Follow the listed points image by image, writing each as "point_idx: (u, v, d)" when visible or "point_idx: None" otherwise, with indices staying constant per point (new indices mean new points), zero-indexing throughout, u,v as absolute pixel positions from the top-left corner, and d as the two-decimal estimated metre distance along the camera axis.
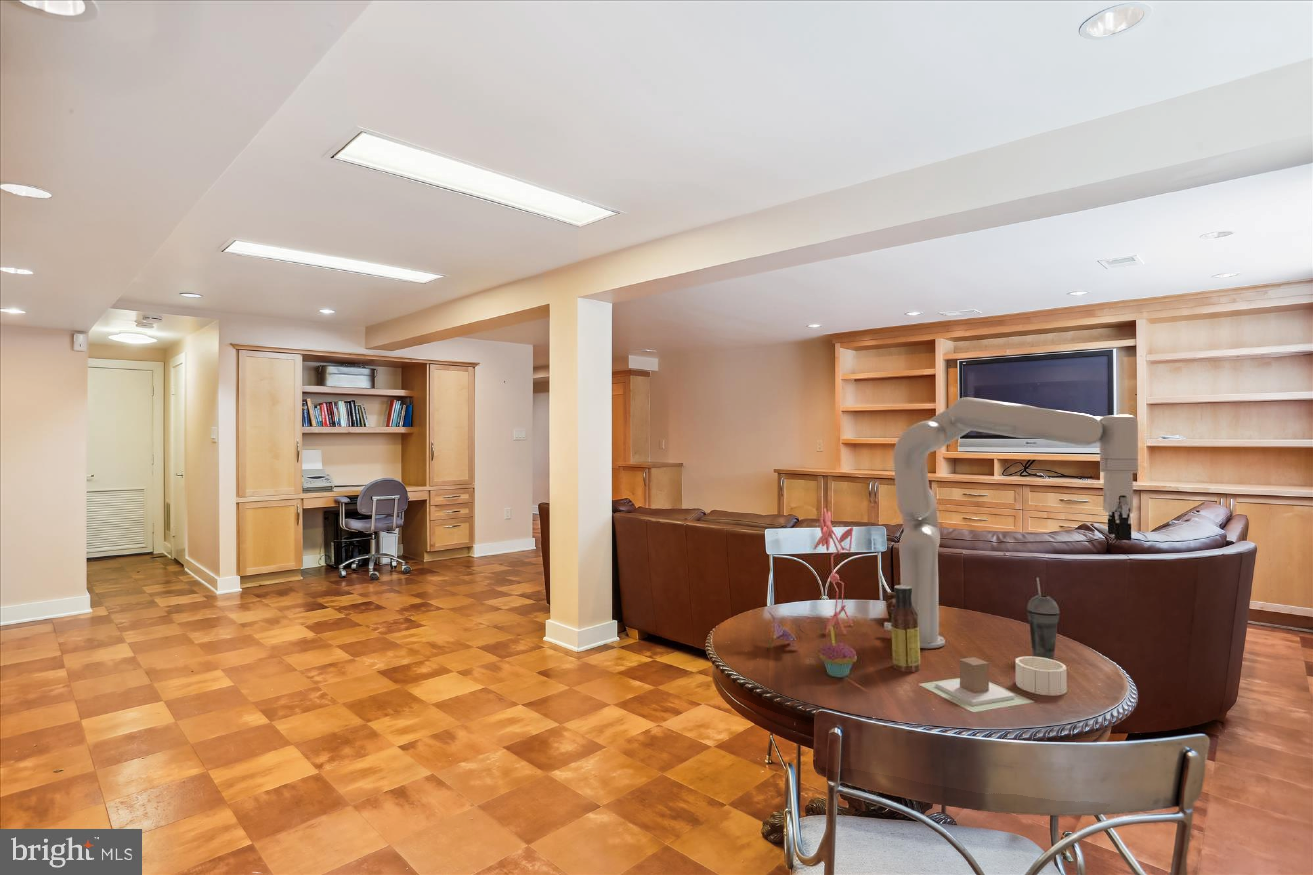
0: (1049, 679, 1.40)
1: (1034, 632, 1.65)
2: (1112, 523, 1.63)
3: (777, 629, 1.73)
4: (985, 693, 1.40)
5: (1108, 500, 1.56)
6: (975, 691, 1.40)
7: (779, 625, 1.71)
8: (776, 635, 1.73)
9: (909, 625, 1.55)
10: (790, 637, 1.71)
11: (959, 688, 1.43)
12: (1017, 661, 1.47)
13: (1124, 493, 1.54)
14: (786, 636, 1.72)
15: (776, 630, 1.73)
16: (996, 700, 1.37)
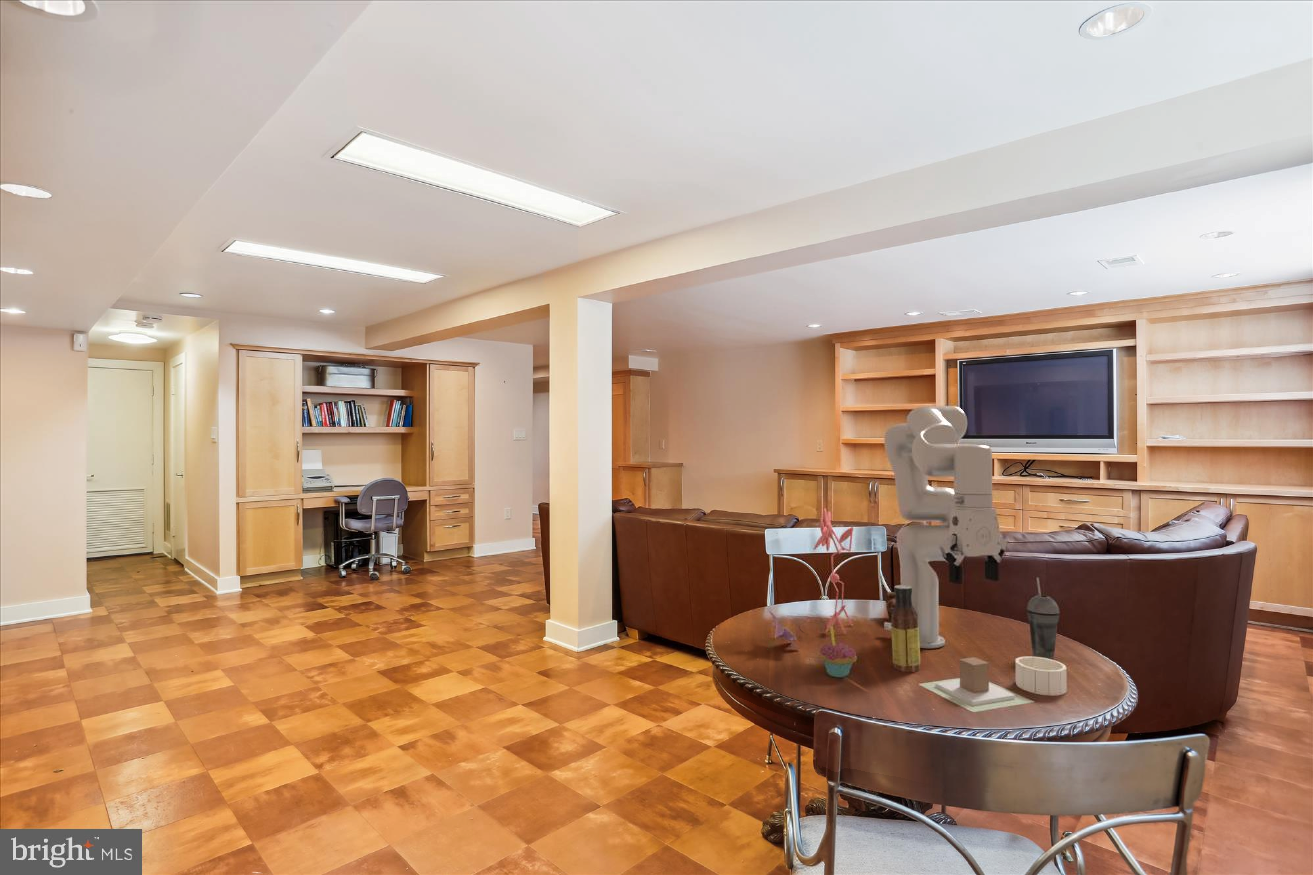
0: (1049, 679, 1.40)
1: (1034, 632, 1.65)
2: None
3: (778, 629, 1.73)
4: (985, 693, 1.40)
5: (998, 539, 1.41)
6: (975, 691, 1.40)
7: (780, 625, 1.71)
8: (777, 635, 1.73)
9: (909, 625, 1.55)
10: (791, 637, 1.71)
11: (959, 688, 1.43)
12: (1017, 661, 1.47)
13: None
14: (787, 636, 1.72)
15: (777, 630, 1.73)
16: (996, 700, 1.37)
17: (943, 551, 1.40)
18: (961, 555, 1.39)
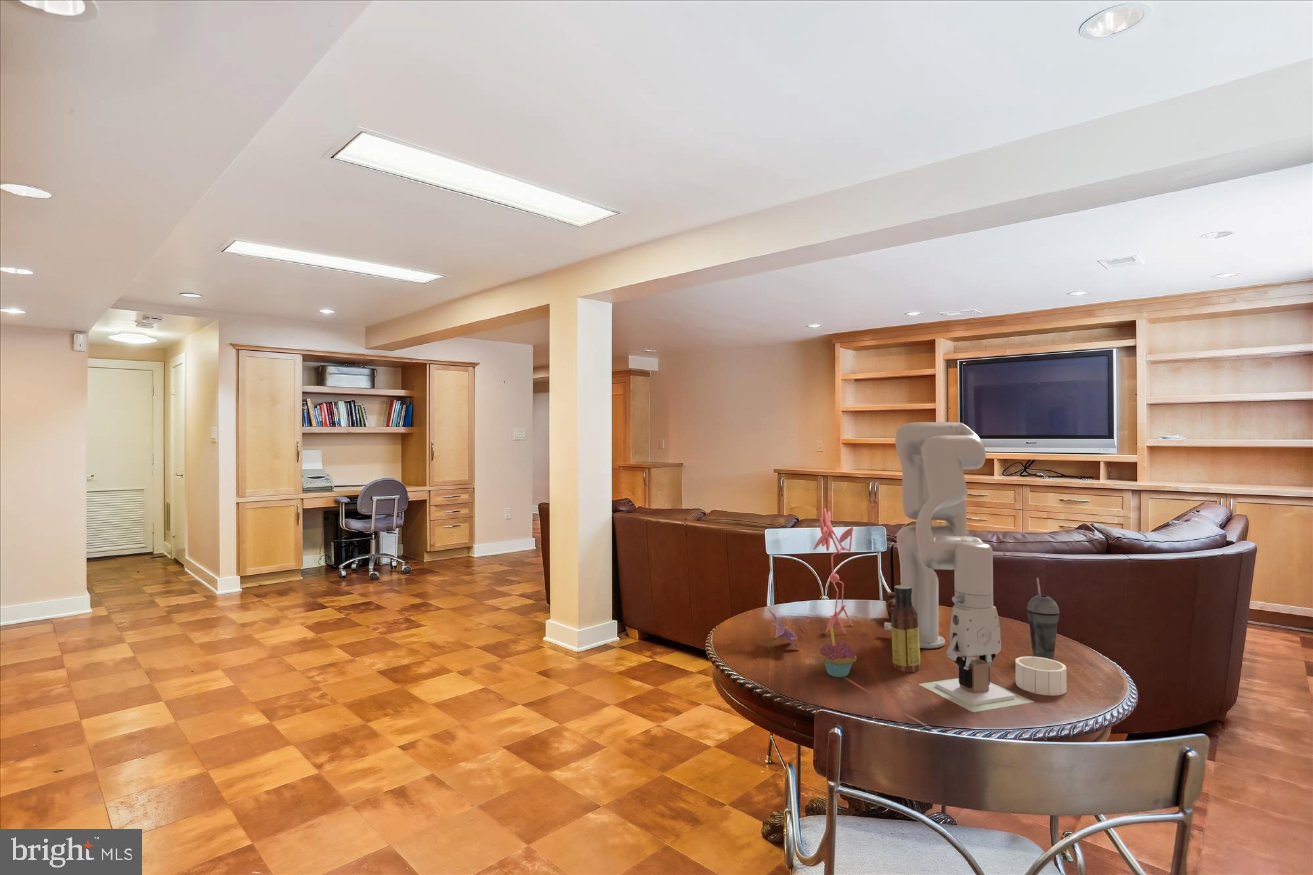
0: (1049, 679, 1.40)
1: (1034, 632, 1.65)
2: None
3: (779, 628, 1.73)
4: (985, 693, 1.40)
5: (998, 638, 1.41)
6: (975, 691, 1.40)
7: (780, 624, 1.72)
8: (777, 634, 1.73)
9: (909, 625, 1.55)
10: (791, 636, 1.71)
11: (959, 688, 1.43)
12: (1017, 661, 1.47)
13: None
14: (787, 635, 1.72)
15: (777, 629, 1.74)
16: (996, 700, 1.37)
17: (952, 658, 1.40)
18: (968, 658, 1.40)
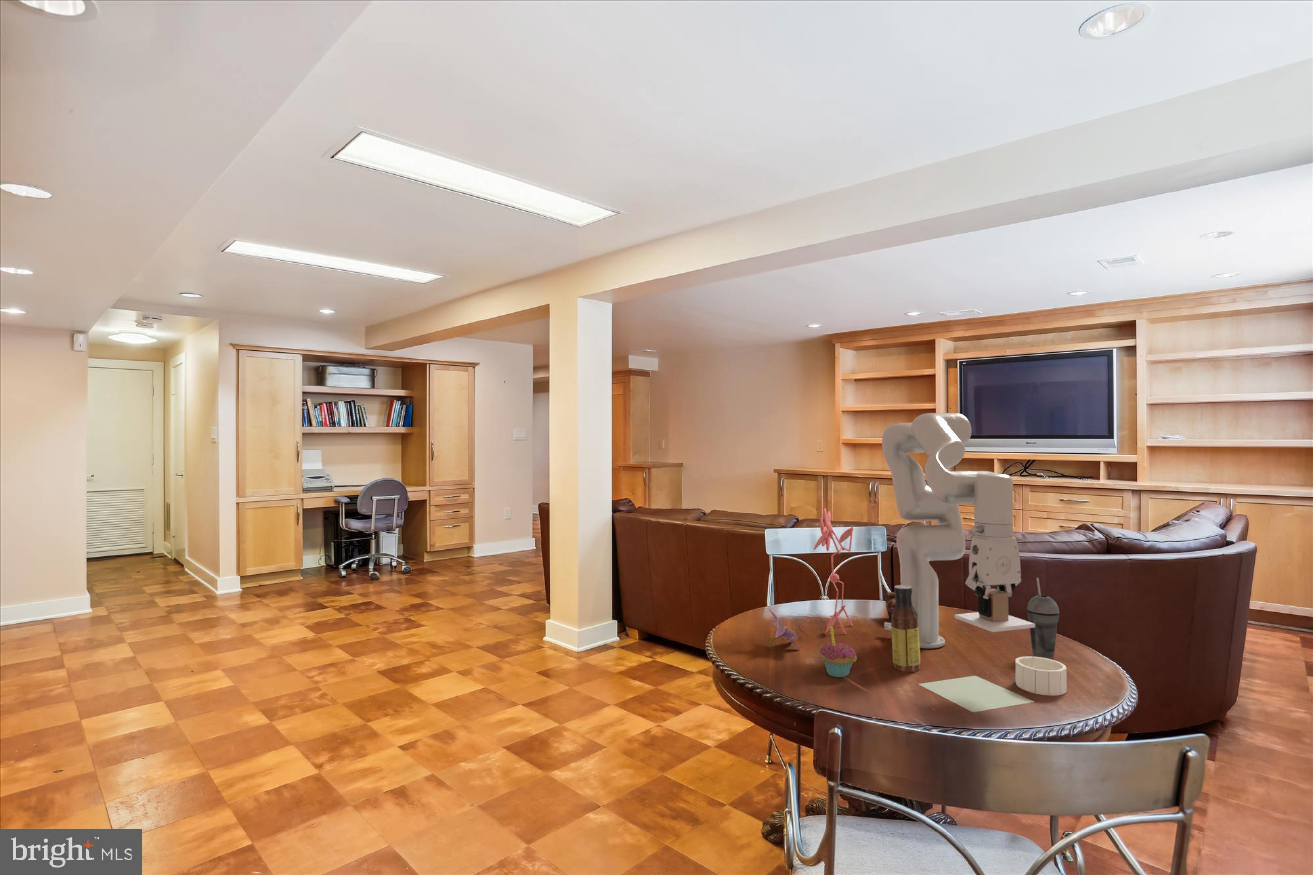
0: (1049, 679, 1.40)
1: (1034, 632, 1.65)
2: None
3: (779, 628, 1.73)
4: (1004, 622, 1.41)
5: (1018, 568, 1.42)
6: (994, 620, 1.41)
7: (781, 624, 1.72)
8: (778, 634, 1.74)
9: (909, 625, 1.55)
10: (792, 636, 1.72)
11: (978, 618, 1.44)
12: (1017, 661, 1.47)
13: None
14: (788, 635, 1.73)
15: (778, 629, 1.74)
16: (1015, 628, 1.38)
17: (971, 588, 1.42)
18: (987, 587, 1.41)
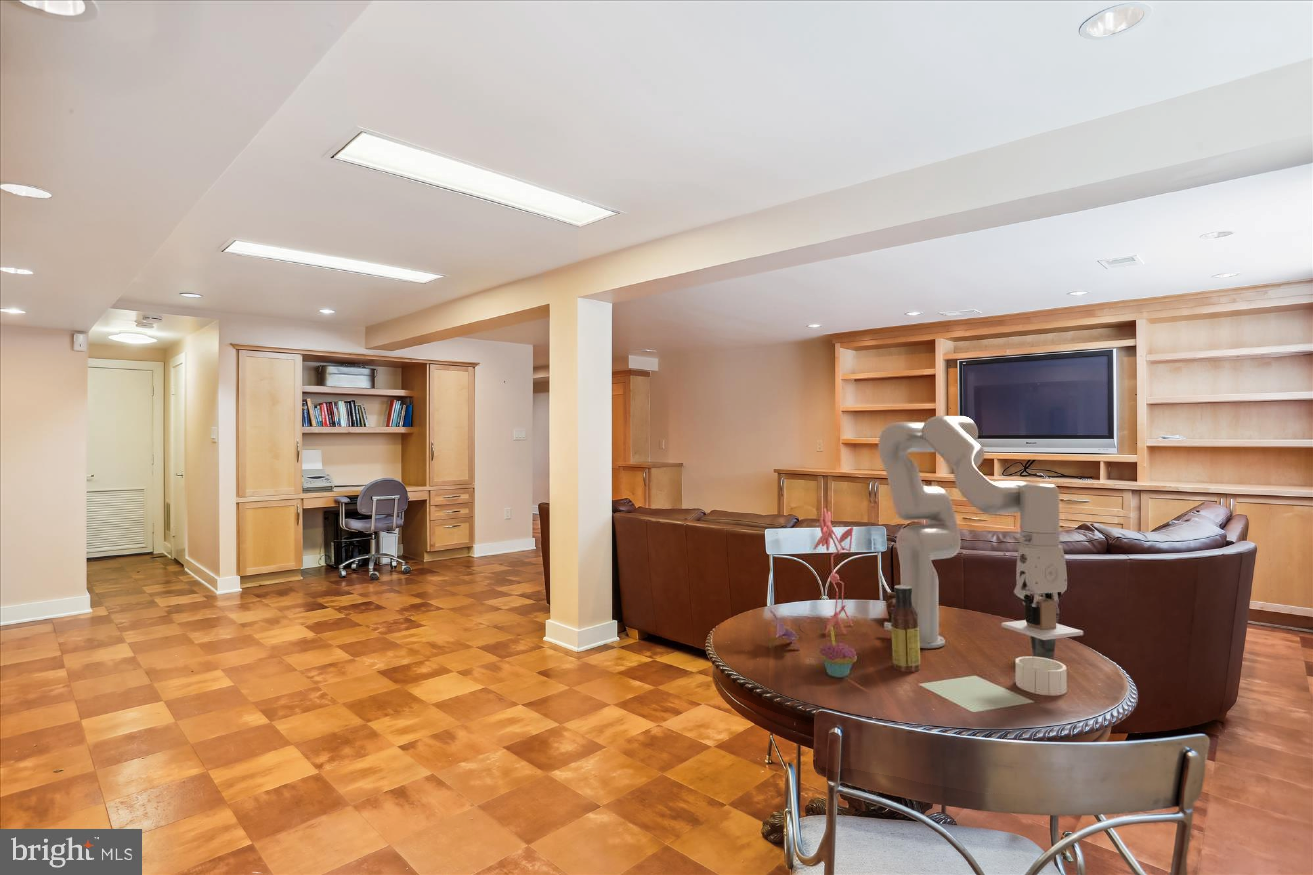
0: (1049, 679, 1.40)
1: None
2: None
3: (779, 628, 1.73)
4: (1053, 630, 1.42)
5: (1064, 576, 1.44)
6: (1043, 628, 1.43)
7: (781, 624, 1.72)
8: (778, 634, 1.74)
9: (909, 625, 1.55)
10: (792, 636, 1.72)
11: (1026, 626, 1.45)
12: (1017, 661, 1.47)
13: None
14: (788, 635, 1.73)
15: (778, 629, 1.74)
16: (1065, 635, 1.40)
17: (1020, 596, 1.43)
18: (1035, 596, 1.43)
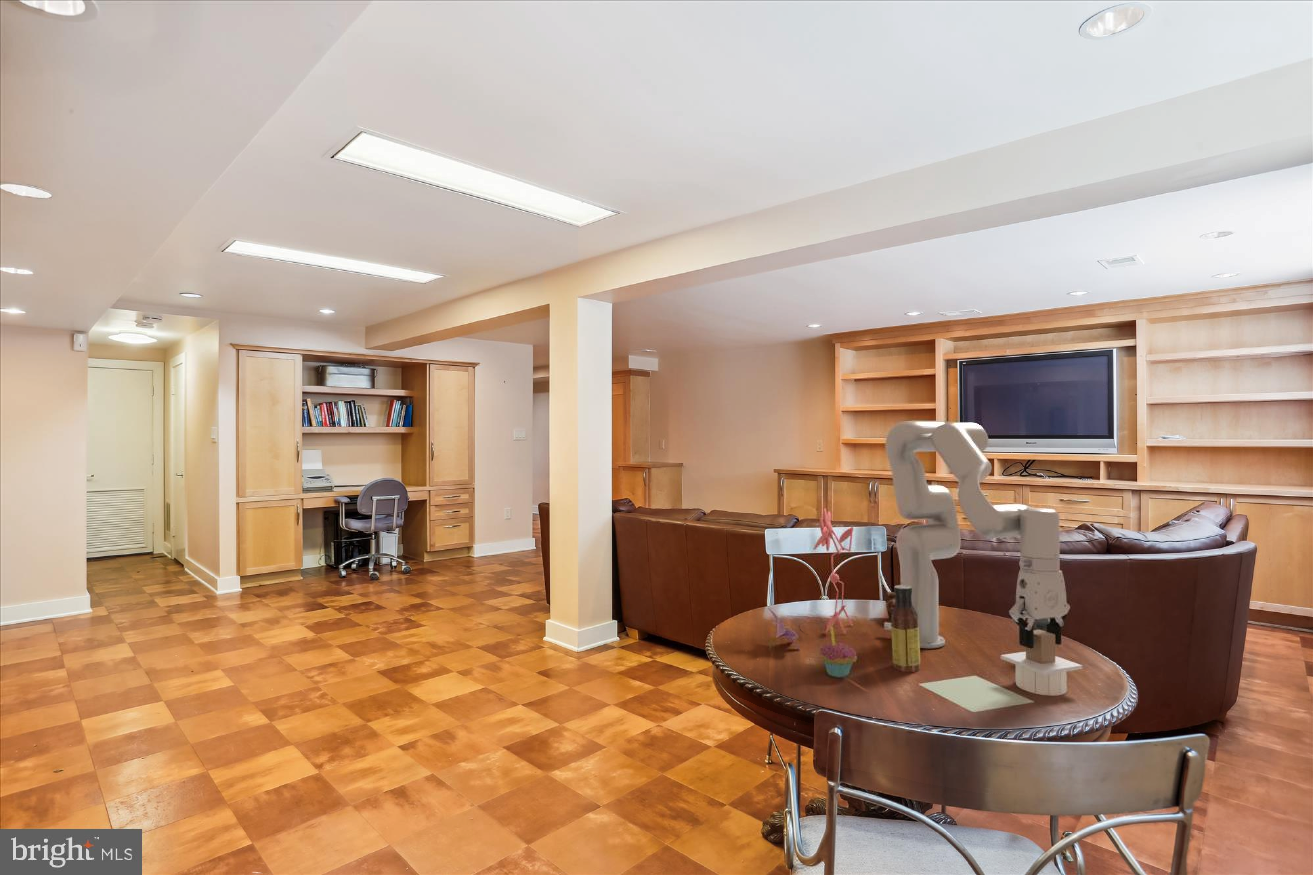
0: (1049, 679, 1.40)
1: None
2: None
3: (780, 628, 1.74)
4: (1052, 664, 1.43)
5: (1064, 601, 1.44)
6: (1042, 662, 1.43)
7: (782, 624, 1.72)
8: (778, 634, 1.74)
9: (909, 625, 1.55)
10: (793, 636, 1.72)
11: (1025, 659, 1.46)
12: None
13: None
14: (788, 635, 1.73)
15: (778, 629, 1.74)
16: (1064, 670, 1.40)
17: (1014, 618, 1.43)
18: (1031, 619, 1.43)
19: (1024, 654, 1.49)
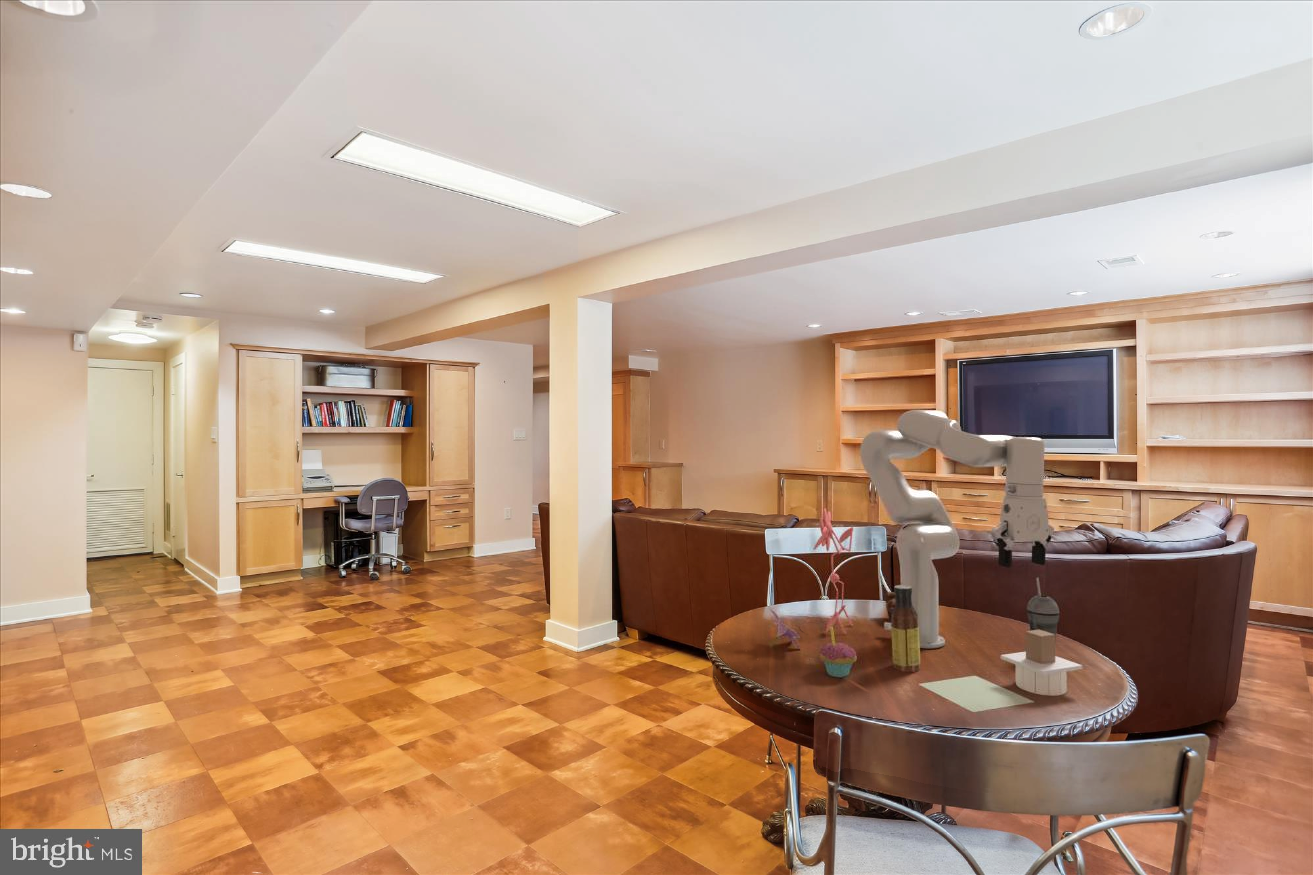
0: (1049, 679, 1.40)
1: None
2: None
3: (780, 628, 1.74)
4: (1052, 664, 1.43)
5: (1046, 526, 1.50)
6: (1042, 662, 1.43)
7: (783, 624, 1.72)
8: (779, 634, 1.74)
9: (909, 625, 1.55)
10: (793, 635, 1.72)
11: (1025, 659, 1.46)
12: None
13: None
14: (789, 635, 1.73)
15: (779, 629, 1.74)
16: (1064, 670, 1.40)
17: (994, 537, 1.49)
18: (1011, 540, 1.49)
19: (1024, 654, 1.49)
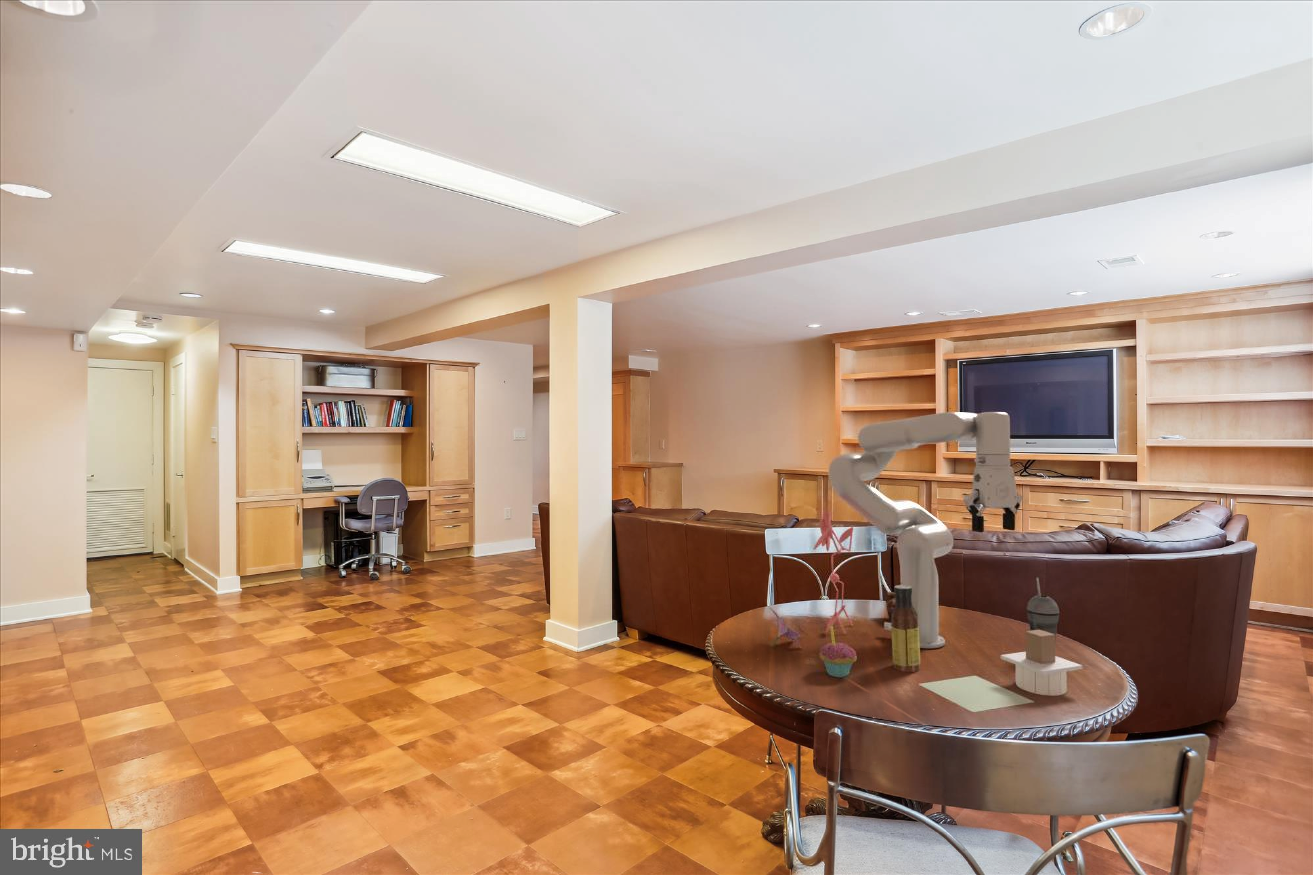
0: (1049, 679, 1.40)
1: None
2: None
3: (781, 627, 1.74)
4: (1052, 664, 1.43)
5: (1014, 494, 1.62)
6: (1042, 662, 1.43)
7: (783, 623, 1.73)
8: (780, 633, 1.74)
9: (909, 625, 1.55)
10: (794, 635, 1.73)
11: (1025, 659, 1.46)
12: None
13: None
14: (790, 634, 1.73)
15: (780, 628, 1.75)
16: (1064, 670, 1.40)
17: (967, 504, 1.61)
18: (983, 507, 1.61)
19: (1024, 654, 1.49)
